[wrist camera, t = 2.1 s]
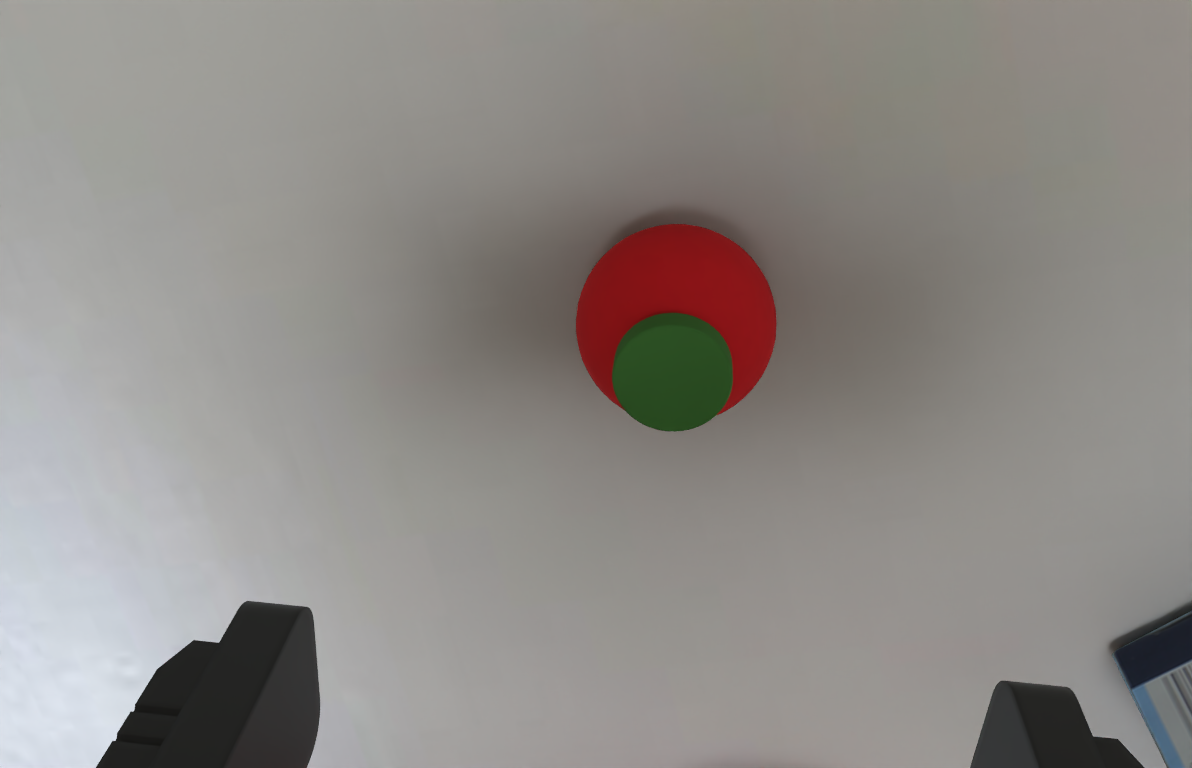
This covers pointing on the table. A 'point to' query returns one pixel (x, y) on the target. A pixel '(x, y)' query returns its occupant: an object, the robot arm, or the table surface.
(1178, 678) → the gum box
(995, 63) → the table surface
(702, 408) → the strawberry
